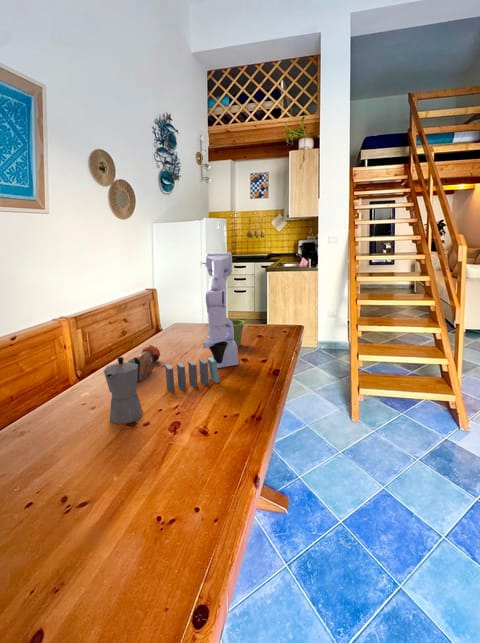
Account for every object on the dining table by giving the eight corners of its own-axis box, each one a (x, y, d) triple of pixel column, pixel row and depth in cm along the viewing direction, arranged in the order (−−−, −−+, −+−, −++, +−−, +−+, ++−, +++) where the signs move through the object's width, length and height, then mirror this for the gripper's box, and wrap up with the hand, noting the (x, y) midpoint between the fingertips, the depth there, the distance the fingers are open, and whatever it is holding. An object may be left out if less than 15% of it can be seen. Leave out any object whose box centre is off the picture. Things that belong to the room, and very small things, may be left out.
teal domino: (215, 377, 136) (211, 357, 134) (219, 381, 132) (216, 360, 130) (210, 378, 136) (207, 358, 134) (215, 383, 132) (211, 361, 130)
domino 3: (193, 382, 133) (192, 360, 131) (197, 386, 129) (196, 364, 127) (189, 383, 133) (188, 361, 131) (193, 387, 129) (191, 365, 127)
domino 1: (171, 386, 130) (169, 364, 128) (174, 391, 126) (173, 368, 124) (166, 387, 130) (165, 365, 128) (169, 391, 126) (168, 369, 124)
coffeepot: (127, 429, 102) (120, 366, 98) (98, 425, 104) (90, 363, 100) (156, 405, 116) (151, 349, 112) (129, 402, 119) (124, 347, 115)
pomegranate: (161, 368, 154) (163, 348, 160) (156, 359, 148) (158, 338, 155) (143, 371, 154) (146, 351, 161) (137, 361, 149) (140, 340, 155)
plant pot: (234, 341, 183) (233, 318, 180) (250, 346, 174) (250, 322, 171) (214, 346, 175) (213, 322, 173) (230, 351, 166) (229, 326, 164)
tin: (137, 384, 133) (135, 361, 131) (129, 383, 134) (126, 361, 132) (154, 369, 147) (153, 348, 146) (147, 368, 148) (145, 348, 146)
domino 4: (204, 380, 135) (203, 358, 133) (208, 384, 131) (207, 362, 129) (200, 380, 134) (199, 359, 132) (204, 385, 130) (203, 363, 128)
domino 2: (182, 384, 132) (181, 362, 130) (186, 388, 128) (184, 366, 126) (178, 385, 131) (176, 363, 129) (181, 389, 127) (180, 367, 125)
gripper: (219, 319, 138) (220, 355, 141) (194, 328, 126) (196, 367, 129) (235, 321, 134) (236, 357, 138) (212, 330, 122) (213, 370, 125)
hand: (218, 362), depth 133 cm, fingers closed
